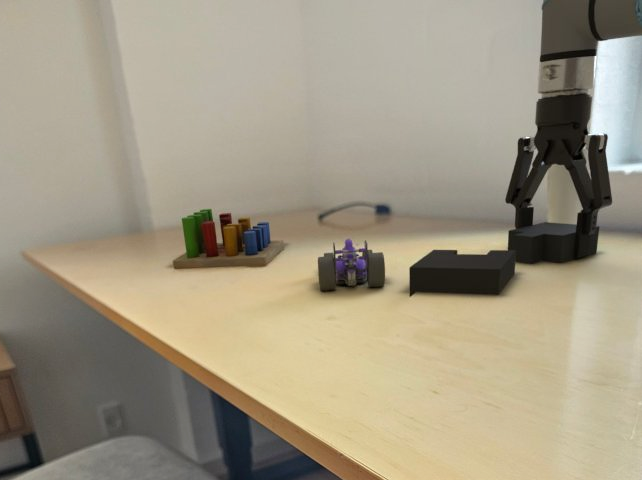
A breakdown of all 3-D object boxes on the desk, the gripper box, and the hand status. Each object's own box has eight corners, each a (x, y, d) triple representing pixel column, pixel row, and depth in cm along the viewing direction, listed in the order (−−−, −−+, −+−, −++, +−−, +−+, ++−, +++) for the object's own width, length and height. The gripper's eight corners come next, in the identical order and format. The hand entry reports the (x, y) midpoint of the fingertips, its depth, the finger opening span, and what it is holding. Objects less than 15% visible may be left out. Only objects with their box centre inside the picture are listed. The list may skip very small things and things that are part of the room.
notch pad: (409, 296, 90) (409, 267, 89) (433, 276, 100) (433, 249, 98) (498, 300, 85) (500, 269, 84) (514, 278, 95) (516, 250, 93)
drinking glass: (555, 234, 122) (563, 146, 116) (589, 237, 118) (600, 145, 111) (534, 240, 119) (541, 149, 112) (568, 243, 114) (578, 149, 107)
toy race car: (376, 267, 108) (375, 226, 105) (385, 289, 95) (384, 243, 92) (319, 272, 109) (316, 231, 106) (319, 294, 95) (316, 248, 92)
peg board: (266, 266, 116) (261, 215, 112) (173, 270, 119) (164, 221, 115) (284, 247, 131) (280, 202, 127) (201, 251, 134) (195, 207, 130)
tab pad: (495, 259, 105) (496, 233, 103) (543, 246, 110) (545, 222, 108) (548, 266, 97) (550, 238, 95) (596, 252, 103) (599, 226, 101)
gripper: (485, 101, 101) (480, 250, 111) (622, 88, 84) (601, 265, 94) (518, 98, 104) (510, 242, 114) (655, 85, 87) (632, 256, 97)
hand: (551, 252), depth 104 cm, fingers closed on tab pad, 10 cm apart
